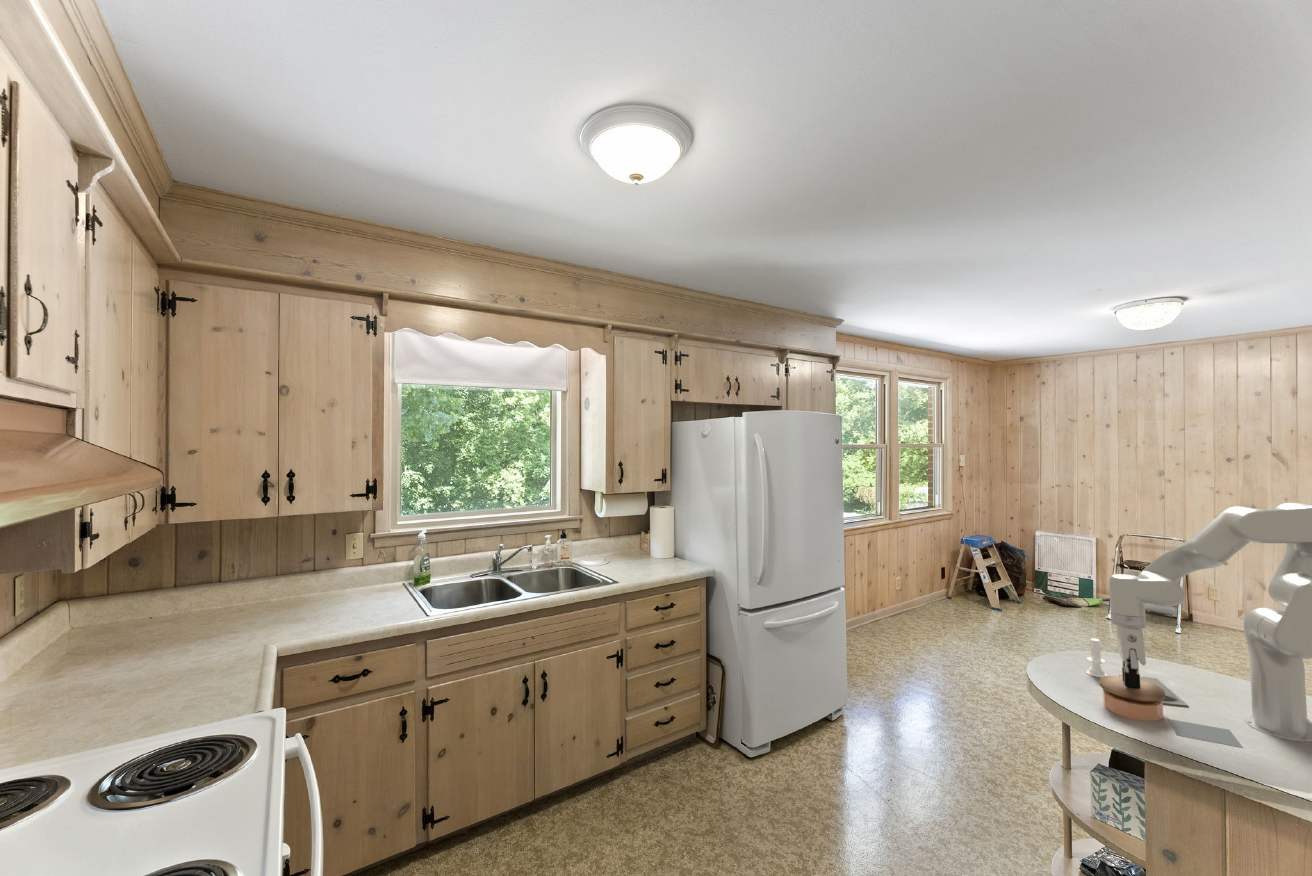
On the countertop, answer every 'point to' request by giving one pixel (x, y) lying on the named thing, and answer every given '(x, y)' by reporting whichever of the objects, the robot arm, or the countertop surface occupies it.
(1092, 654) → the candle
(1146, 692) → the lid
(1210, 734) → the mat
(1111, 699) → the bowl
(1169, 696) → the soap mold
